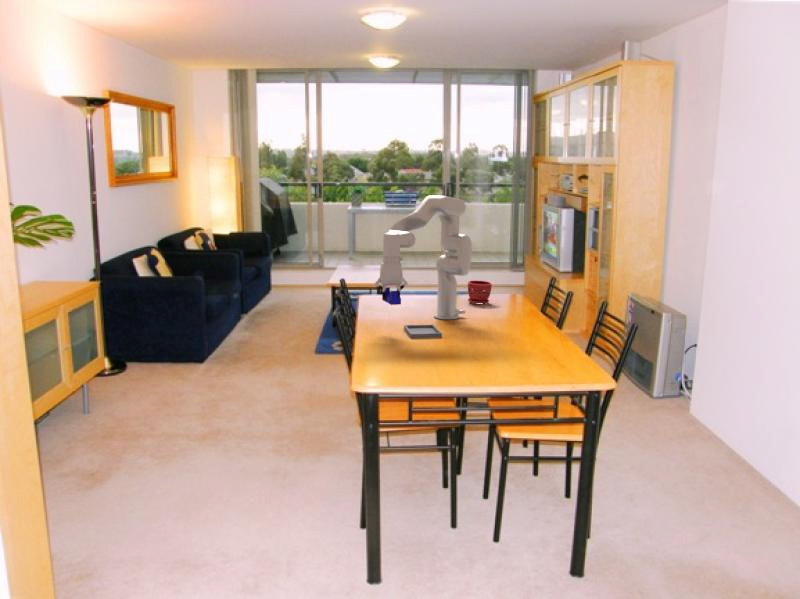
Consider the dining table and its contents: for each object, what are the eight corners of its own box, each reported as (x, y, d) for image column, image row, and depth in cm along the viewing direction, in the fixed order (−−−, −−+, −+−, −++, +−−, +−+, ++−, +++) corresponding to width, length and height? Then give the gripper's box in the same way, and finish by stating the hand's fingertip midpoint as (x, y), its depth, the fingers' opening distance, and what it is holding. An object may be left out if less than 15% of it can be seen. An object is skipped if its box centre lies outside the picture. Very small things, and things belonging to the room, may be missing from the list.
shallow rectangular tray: (433, 328, 337) (433, 324, 337) (441, 337, 320) (441, 333, 319) (403, 329, 335) (403, 325, 335) (410, 338, 318) (410, 334, 317)
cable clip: (400, 304, 323) (401, 291, 321) (391, 304, 321) (391, 291, 320) (391, 299, 334) (391, 286, 332) (382, 300, 332) (382, 287, 331)
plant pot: (468, 305, 396) (469, 283, 394) (466, 300, 409) (466, 280, 407) (492, 305, 396) (493, 284, 394) (489, 301, 409) (489, 280, 407)
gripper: (408, 258, 329) (408, 297, 333) (371, 259, 326) (371, 298, 330) (411, 261, 322) (411, 300, 325) (373, 261, 319) (373, 301, 322)
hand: (391, 299), depth 327 cm, fingers closed on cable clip, 5 cm apart
